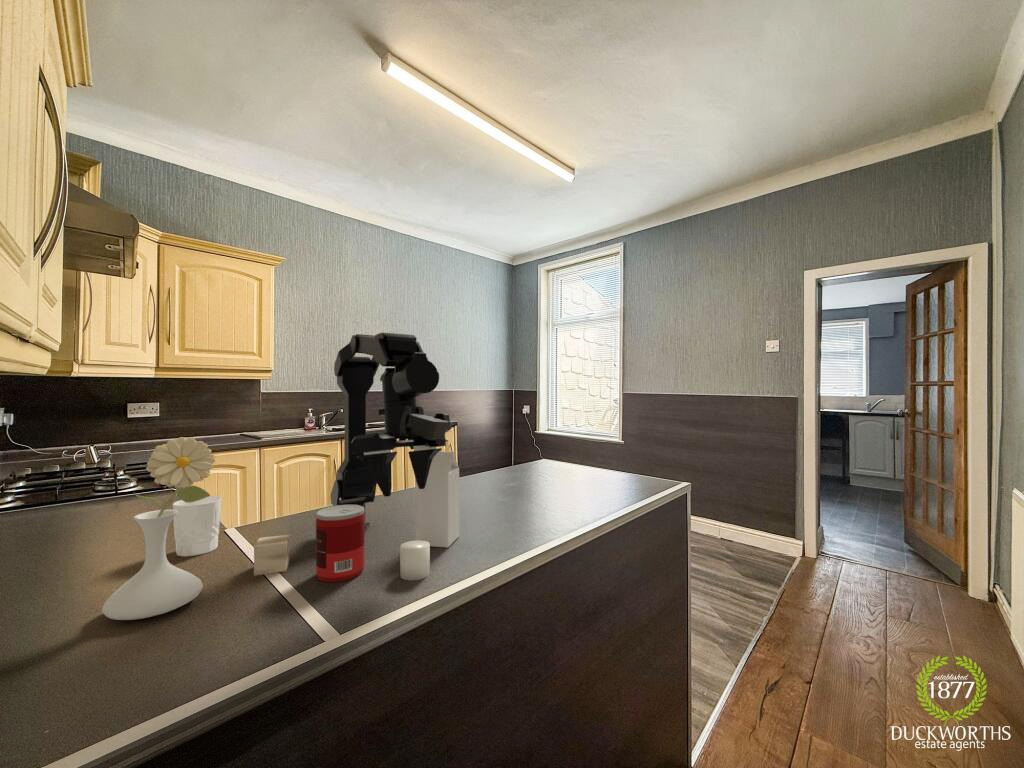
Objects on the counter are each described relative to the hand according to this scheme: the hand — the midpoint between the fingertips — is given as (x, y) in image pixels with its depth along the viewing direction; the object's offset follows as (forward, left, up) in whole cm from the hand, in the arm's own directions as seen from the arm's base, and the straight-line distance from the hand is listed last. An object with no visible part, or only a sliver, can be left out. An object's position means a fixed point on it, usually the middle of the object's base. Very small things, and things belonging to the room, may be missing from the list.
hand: (405, 492), depth 74 cm
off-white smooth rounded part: (-1, +1, -14) cm, 14 cm away
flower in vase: (+6, -35, -15) cm, 38 cm away
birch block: (-7, -25, -14) cm, 29 cm away
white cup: (-18, -44, -15) cm, 49 cm away
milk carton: (-17, +4, -15) cm, 23 cm away
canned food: (-3, -12, -15) cm, 19 cm away
